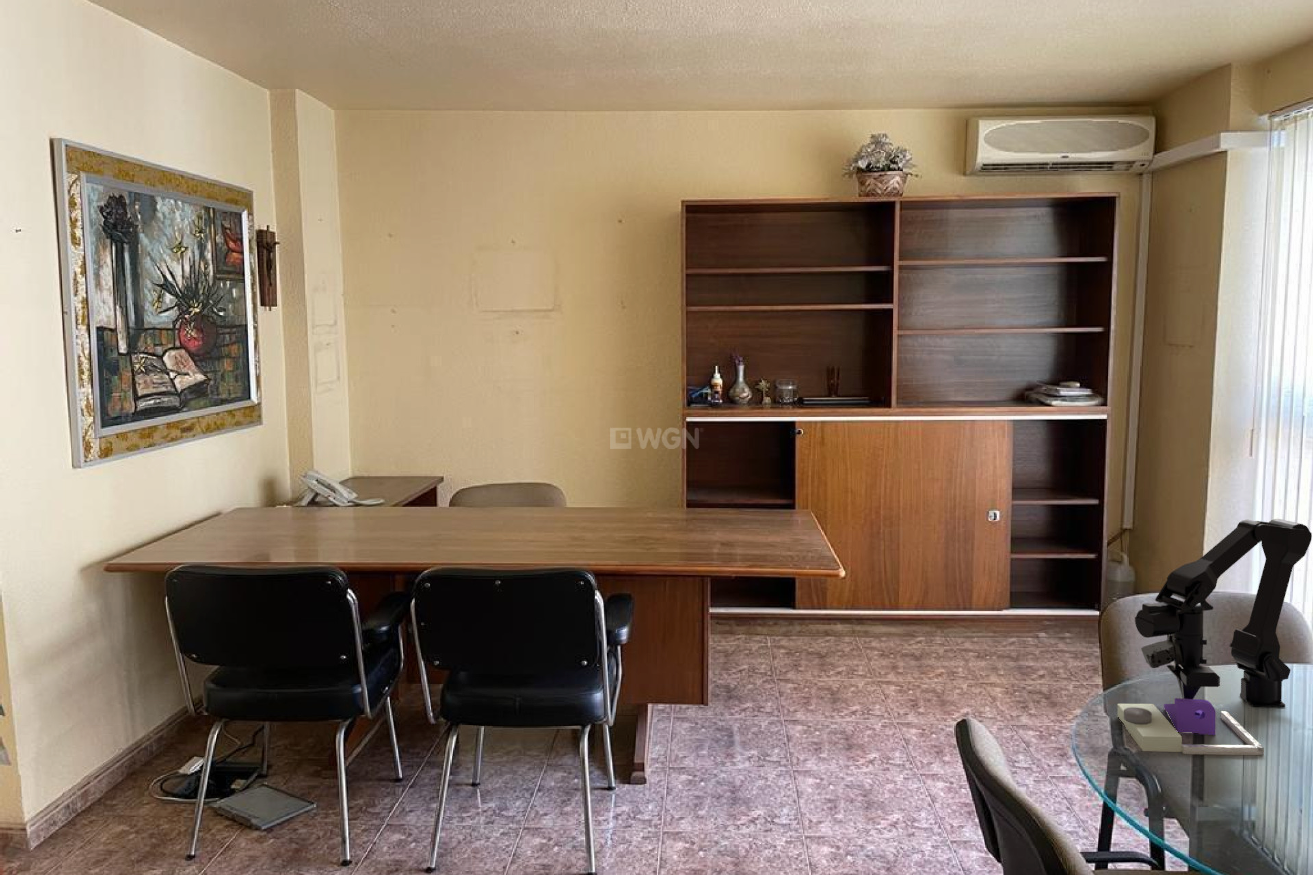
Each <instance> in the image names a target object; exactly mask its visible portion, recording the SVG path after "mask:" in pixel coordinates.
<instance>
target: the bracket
mask: <svg viewBox="0 0 1313 875" xmlns="http://www.w3.org/2000/svg"><path fill="white" fill-rule="evenodd" d="M1164 708H1165V710H1166V711H1167V712H1168V714H1169V716H1170V718H1171V720H1172V722H1173V724H1174V726H1175V728H1176V730H1177V731H1178V732H1192V733H1199V734H1198V735H1205V734H1208V735H1209V736H1216V720H1217V719H1216V717H1217V716H1216V713H1217V712H1216V708H1215V707H1214V706H1213V704H1212V702H1210V701H1209V700H1207V699H1201V698H1196V699H1195V698H1193V699H1183V698H1182V697H1181V698H1180V697H1179V698H1177V697H1176V698H1175V697H1174V703H1164V704H1163V709H1164ZM1165 710H1164V711H1165ZM1174 726H1173V727H1174Z"/></svg>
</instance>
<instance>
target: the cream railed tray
mask: <svg viewBox="0 0 1313 875" xmlns="http://www.w3.org/2000/svg"><path fill="white" fill-rule="evenodd" d="M1118 717H1119V719H1120V720H1121V721H1122V722H1123V723H1124V725H1125V727H1126V728H1127V729H1126V728H1125V727H1124V728H1125V729H1126V730H1128V731H1127V732H1128V734H1131V735H1130V736H1131V737H1132V739H1133V740H1134V741H1135V742H1136V744H1137V745H1138V747H1139V748H1140V750H1141V751H1142V752H1165V753H1166V752H1169V753H1170V752H1171V753H1172V752H1173V753H1174V752H1179V753H1182V754H1183V755H1218V756H1219V755H1221V756H1224V755H1225V756H1264V753H1265V750H1264V749H1265V748H1264V747H1263V745H1262V744H1260V742H1258V740H1256V738H1255V737H1253V736H1252V735H1251V734H1250V733H1249V732H1248V731H1247V730H1246V729H1245V727H1243V726H1242V725H1241V724H1240V723H1239V722H1238V721H1237V720H1236V719H1235V718H1234V717H1233V716H1231V715H1230V713H1229V712H1228V711H1220V719H1221V720H1222V721H1223V722H1224V723H1225V724H1226V725H1227V726H1228V727H1229V728H1230V729H1231V730H1232V731H1233V732H1234V733H1235V734H1236V735H1237V736H1238V737H1239V738H1240V739H1241V740H1242V741H1243V742H1244V743H1245V744H1240V745H1239V744H1192V743H1191V744H1186V743H1185V744H1184V743H1183V742H1182V741H1183V740H1182V738H1183V736H1181V733H1178V732H1177V731H1176V730H1175V728H1174V726H1173V725H1172V723H1171V722H1169V720H1168V718H1166V717H1165V716H1164V714H1163V713H1162V712H1161V711H1160V710H1159V708H1158V707H1156V705H1155V704H1154V703H1117V718H1118ZM1119 719H1118V720H1119ZM1120 720H1119V721H1120ZM1121 721H1120V722H1121ZM1124 725H1123V726H1124Z"/></svg>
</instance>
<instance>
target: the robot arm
mask: <svg viewBox="0 0 1313 875" xmlns="http://www.w3.org/2000/svg"><path fill="white" fill-rule="evenodd" d="M1312 534H1313V533H1312V532H1311V531H1310V529H1309V527H1308V526H1307V525H1306V524H1303V523H1299V522H1294V521H1290V520H1285V519H1280V518H1274V519H1271V520H1270V521H1268V522H1267V521H1261V520H1251V519H1244V520H1243V519H1242V520H1241V521H1239V523H1237V526H1236V528H1234V529H1233V530H1232V531H1231V532H1230V533H1228V534H1227V535H1226V536H1225V537H1224V538H1223V539H1221V540H1220V541H1219V542H1218V543H1217V544H1216V545H1214V546H1213V547H1212V548H1211V549H1210V550H1208V552H1206V553H1205V554H1204V555H1202V557H1200V558H1199V559H1197V560H1195V561H1191V562H1189V563H1185V564H1183V565H1180V566H1179V567H1178V568H1176V569H1174V570H1173V571H1171V572H1170V574H1169V575H1168V576H1167V577H1166V582H1165V583H1164V585H1162V586H1163V587H1162V588H1161V589H1160V591H1159V592H1158V594H1157V595H1156V597H1155V599H1154V600H1155V602H1156V603H1155V602H1154V603H1149V602H1148V603H1142V604H1141V609H1140V610H1138V611H1137V613H1136V616H1135V617H1134V622H1135V623H1134V624H1135V628H1136V630H1137V631H1138V633H1139V635H1141V636H1142V637H1143V638H1147V639H1149V638H1157V637H1163V636H1166V639H1165V640H1163V641H1162V640H1161V641H1157V642H1154V643H1150V644H1148V645H1144V646H1142V647H1141V648H1140V650H1141V652H1142V655H1143V657H1144V660H1145V663H1147V664H1148V665H1149V667H1150V668H1151V669H1157V668H1160V667H1162V666H1165V665H1166V667H1167V669H1168V670H1169V671H1170V672H1171V673H1172V674H1173V675H1174V676H1175V677H1176V679H1177V683H1178V687H1179V691H1180V694H1181V699H1195V696H1196V695H1197V693H1198V692H1199V690H1200V689H1201V688H1218V687H1220V686H1221V676H1219V675H1218V673H1216V672H1215V671H1214V670H1213V669H1212V668H1211V667H1210V666H1204V665H1207V664H1208V663H1207V658H1206V657H1205V656H1204V646H1207V644H1208V643H1207V642H1208V640H1207V638H1205V637H1204V612H1206V611H1212V610H1214V606H1213V605H1211V604H1210V603H1209V602H1208V601H1207V599H1208V597H1209V596H1210V595H1212V593H1213V592H1214V591H1215V589H1216V588H1217V583H1218V581H1219V580H1218V579H1219V578H1220V577H1221V576H1222V575H1223V574H1225V573H1226V571H1228V570H1229V569H1230V568H1231V567H1232V566H1233V565H1235V564H1236V563H1237V562H1238V561H1239V560H1241V558H1243V557H1244V556H1245V555H1246V554H1248V553H1249V552H1250V551H1251V550H1252V549H1253V548H1254V547H1256V546H1258V544H1259V543H1261V548H1262V551H1263V554H1264V557H1265V562H1264V564H1263V565H1264V566H1263V569H1262V573H1261V576H1260V580H1259V584H1258V586H1257V587H1258V589H1257V591H1256V595H1255V599H1254V603H1253V605H1252V610H1251V614H1250V616H1249V621H1248V624H1247V625H1245V626H1244V627H1243V628H1242V629H1241V630H1240V629H1238V628H1236V629H1235V630H1234V631H1233V635H1232V636H1233V637H1232V641H1231V643H1230V644H1229V647H1230V648H1231V650H1230V654H1231V656H1232V658H1233V660H1234V661H1235V664H1236V667H1237V669H1239V670H1242V671H1243V677H1242V678H1240V693H1239V697H1241V698H1242V699H1243V700H1244V701H1245V702H1246V703H1247V704H1249V705H1250V706H1251V707H1255V708H1259V707H1260V708H1285V707H1286V704H1285V703H1284V702H1283V700H1282V695H1283V693H1282V692H1283V691H1282V689H1283V681H1284V680H1288V679H1289V676H1290V675H1291V674H1290V673H1291V671H1292V669H1291V668H1290V667H1289V666H1288V665H1287V664H1286V663H1285V662H1284V661H1282V660H1281V658H1280V652H1281V644H1280V641H1279V638H1278V636H1277V628H1278V623H1279V619H1280V616H1281V612H1282V608H1283V604H1284V603H1285V602H1284V601H1285V598H1286V595H1287V590H1288V587H1289V584H1290V580H1291V576H1292V572H1293V568H1294V566H1295V565H1296V564H1298V562H1299V561H1301V560H1302V559H1303V558H1304V557H1305V556H1306V554H1307V552H1308V550H1309V547H1310V545H1311V543H1312V542H1311V541H1312V537H1313V536H1312ZM1172 596H1174V597H1176V598H1174V597H1172ZM1177 598H1178V599H1177ZM1180 599H1182V600H1180Z"/></svg>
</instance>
